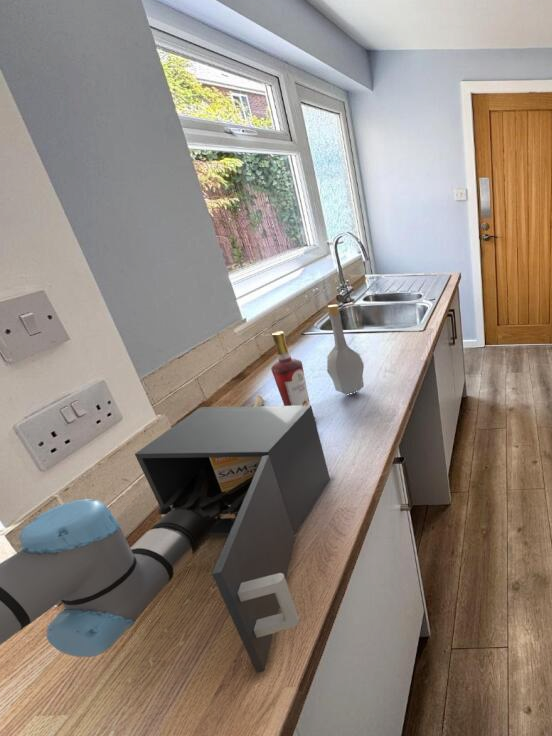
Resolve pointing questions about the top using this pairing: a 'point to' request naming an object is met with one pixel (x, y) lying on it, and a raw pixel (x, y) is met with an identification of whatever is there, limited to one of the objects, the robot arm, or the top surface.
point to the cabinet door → (258, 566)
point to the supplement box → (234, 470)
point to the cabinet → (242, 453)
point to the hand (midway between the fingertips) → (256, 455)
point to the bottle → (343, 359)
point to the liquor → (289, 375)
